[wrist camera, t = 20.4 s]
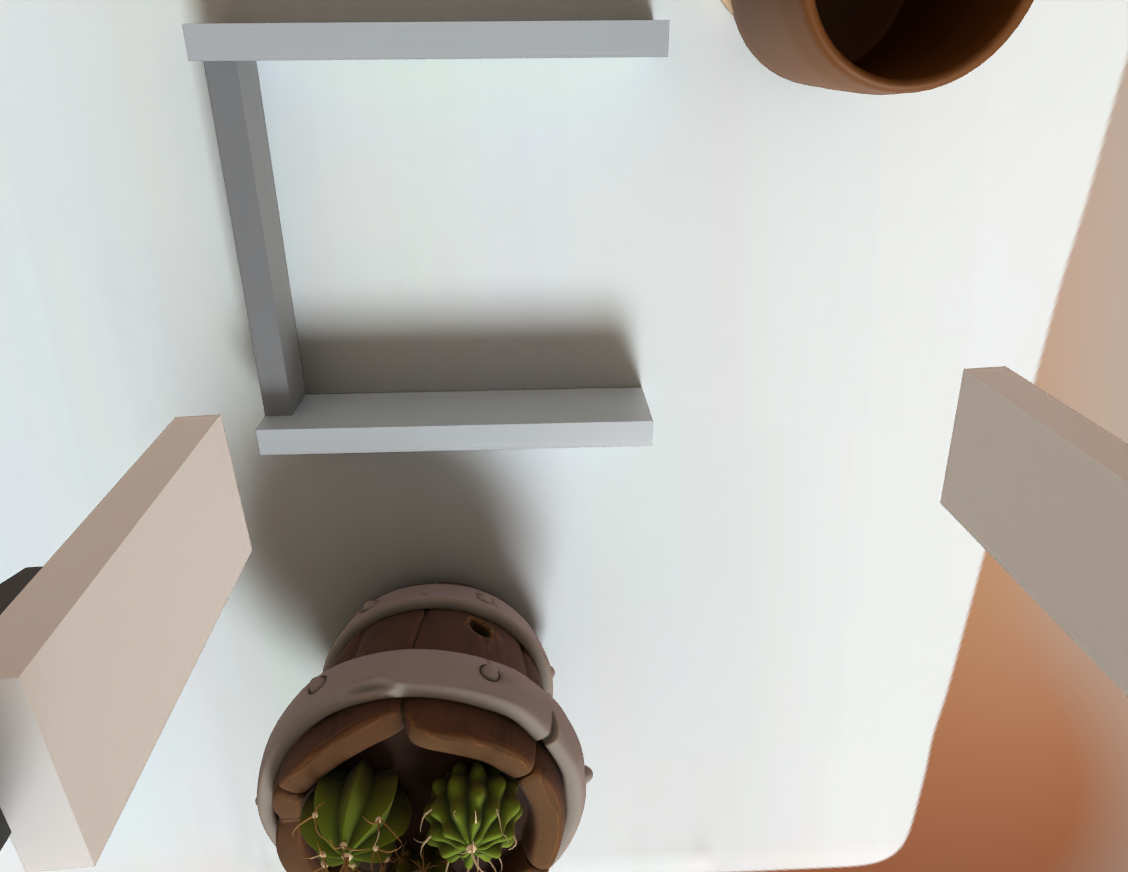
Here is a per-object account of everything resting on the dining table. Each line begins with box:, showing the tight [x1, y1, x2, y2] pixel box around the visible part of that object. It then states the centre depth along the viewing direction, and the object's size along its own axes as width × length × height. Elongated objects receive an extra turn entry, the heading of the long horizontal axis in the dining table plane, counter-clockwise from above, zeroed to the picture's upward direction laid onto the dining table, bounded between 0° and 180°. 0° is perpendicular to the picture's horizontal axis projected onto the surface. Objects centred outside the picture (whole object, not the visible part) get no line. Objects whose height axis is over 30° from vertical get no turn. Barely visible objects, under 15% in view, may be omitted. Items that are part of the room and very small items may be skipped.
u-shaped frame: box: [182, 20, 669, 455], centre depth 35 cm, size 17×17×4 cm
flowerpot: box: [256, 582, 593, 872], centre depth 37 cm, size 14×15×20 cm
